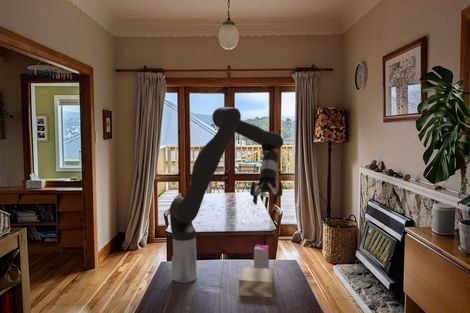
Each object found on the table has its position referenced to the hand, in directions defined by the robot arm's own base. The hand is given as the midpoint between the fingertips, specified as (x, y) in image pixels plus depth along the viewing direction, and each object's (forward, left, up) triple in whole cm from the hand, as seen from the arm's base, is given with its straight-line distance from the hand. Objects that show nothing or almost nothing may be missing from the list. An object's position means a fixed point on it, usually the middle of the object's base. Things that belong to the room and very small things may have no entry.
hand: (264, 203), depth 149 cm
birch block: (-1, -21, -28) cm, 36 cm away
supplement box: (-1, -7, -28) cm, 29 cm away
